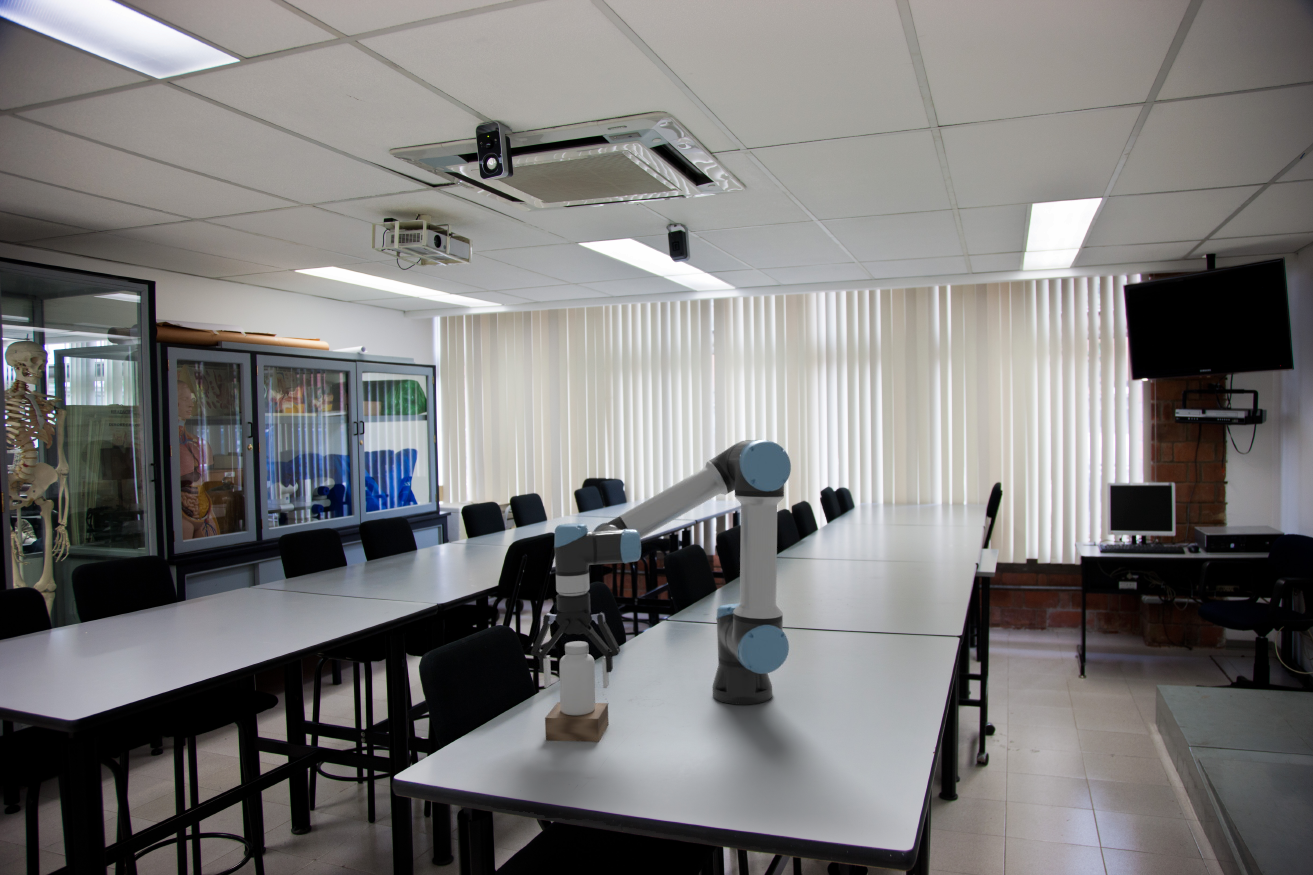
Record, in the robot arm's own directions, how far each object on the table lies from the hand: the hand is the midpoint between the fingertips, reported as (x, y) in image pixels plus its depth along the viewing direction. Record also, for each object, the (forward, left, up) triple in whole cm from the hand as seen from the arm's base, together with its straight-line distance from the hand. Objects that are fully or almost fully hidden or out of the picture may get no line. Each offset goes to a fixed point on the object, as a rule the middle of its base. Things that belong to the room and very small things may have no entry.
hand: (576, 686), depth 172 cm
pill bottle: (0, 0, -6) cm, 6 cm away
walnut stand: (0, 0, -10) cm, 10 cm away
